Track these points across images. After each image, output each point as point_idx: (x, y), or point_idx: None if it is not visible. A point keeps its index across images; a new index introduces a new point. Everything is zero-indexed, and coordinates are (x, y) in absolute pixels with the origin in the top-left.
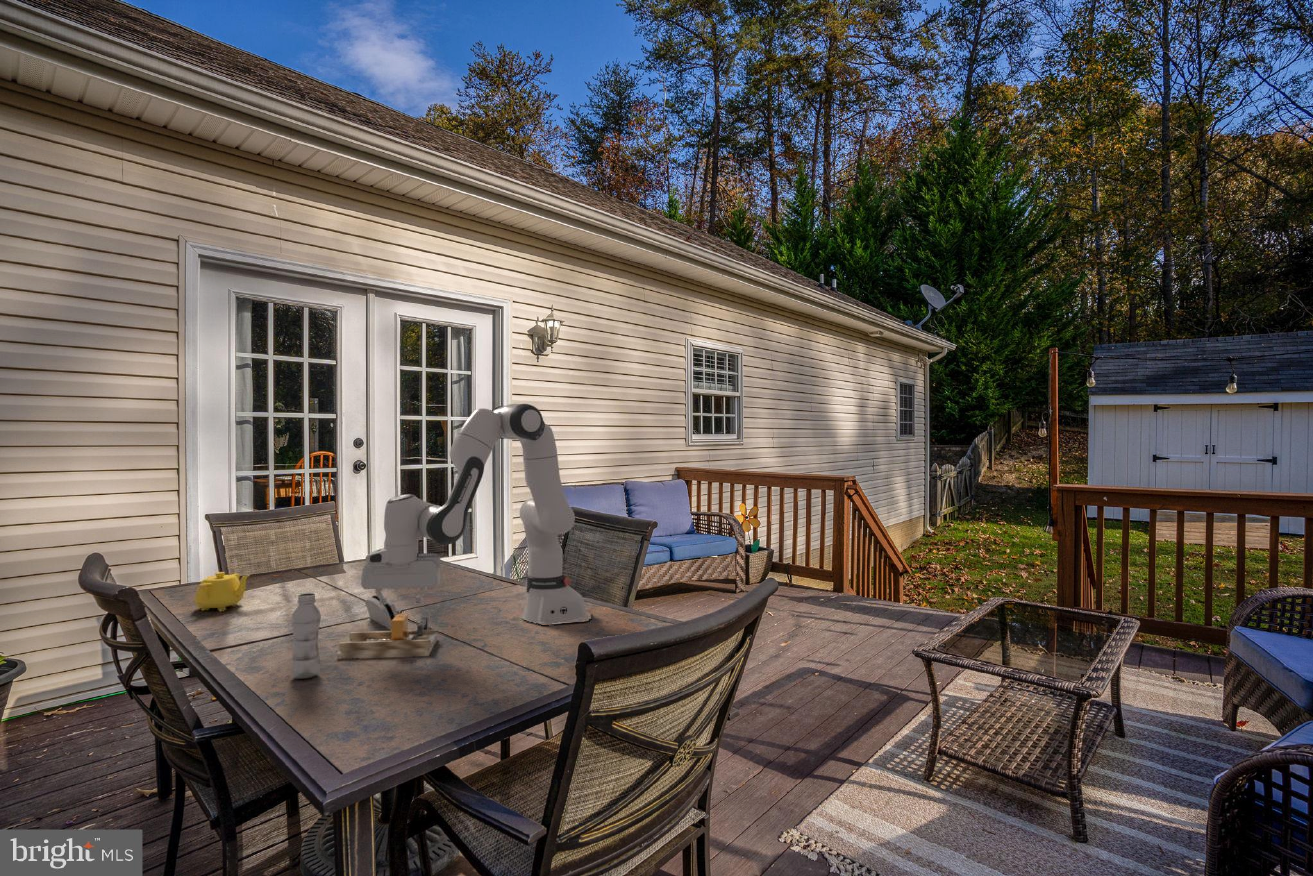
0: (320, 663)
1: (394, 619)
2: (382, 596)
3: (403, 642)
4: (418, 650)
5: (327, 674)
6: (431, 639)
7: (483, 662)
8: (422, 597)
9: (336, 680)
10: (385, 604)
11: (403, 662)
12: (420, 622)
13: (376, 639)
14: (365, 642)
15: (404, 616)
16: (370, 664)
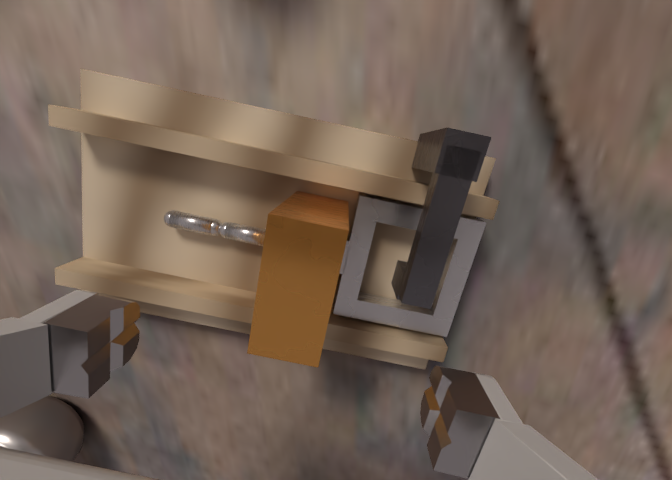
0: (64, 452)
1: (262, 329)
2: (26, 360)
3: (329, 337)
4: (388, 359)
5: (114, 414)
6: (452, 310)
7: (583, 462)
8: (511, 406)
9: (154, 463)
10: (136, 348)
11: (333, 387)
12: (424, 250)
13: (206, 227)
14: (166, 305)
15: (325, 278)
16: (228, 373)
